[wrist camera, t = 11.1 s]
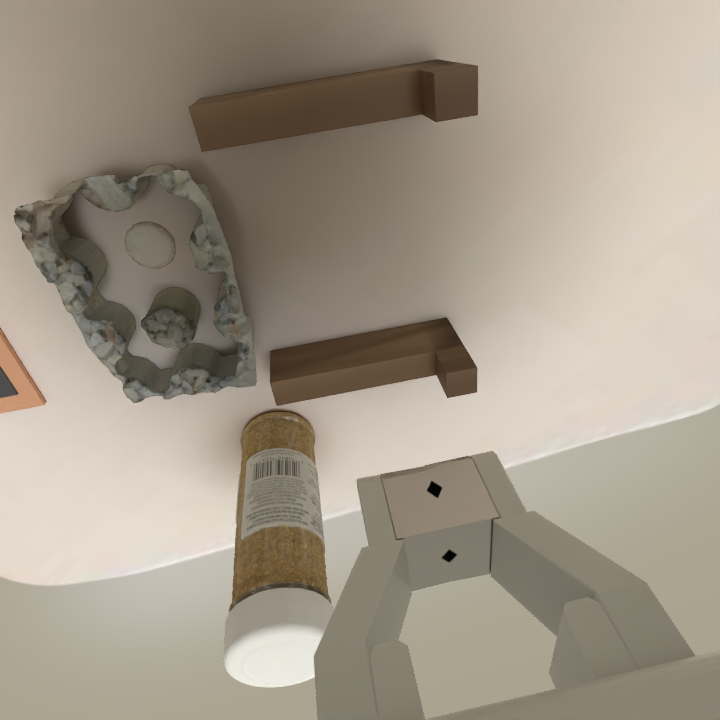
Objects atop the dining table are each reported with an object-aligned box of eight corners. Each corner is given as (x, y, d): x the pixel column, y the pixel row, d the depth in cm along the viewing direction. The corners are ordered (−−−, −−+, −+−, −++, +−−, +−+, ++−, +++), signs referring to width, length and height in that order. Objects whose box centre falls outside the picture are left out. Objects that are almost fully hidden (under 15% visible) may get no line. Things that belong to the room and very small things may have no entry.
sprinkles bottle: (234, 457, 31) (212, 692, 20) (250, 401, 29) (235, 630, 18) (304, 467, 32) (320, 693, 21) (325, 414, 30) (354, 635, 19)
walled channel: (199, 98, 20) (179, 115, 16) (437, 59, 21) (477, 65, 17) (276, 373, 28) (276, 431, 24) (447, 340, 29) (477, 392, 24)
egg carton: (40, 174, 21) (-5, 200, 18) (215, 151, 22) (204, 172, 18) (128, 375, 27) (107, 423, 24) (264, 354, 28) (263, 398, 24)
